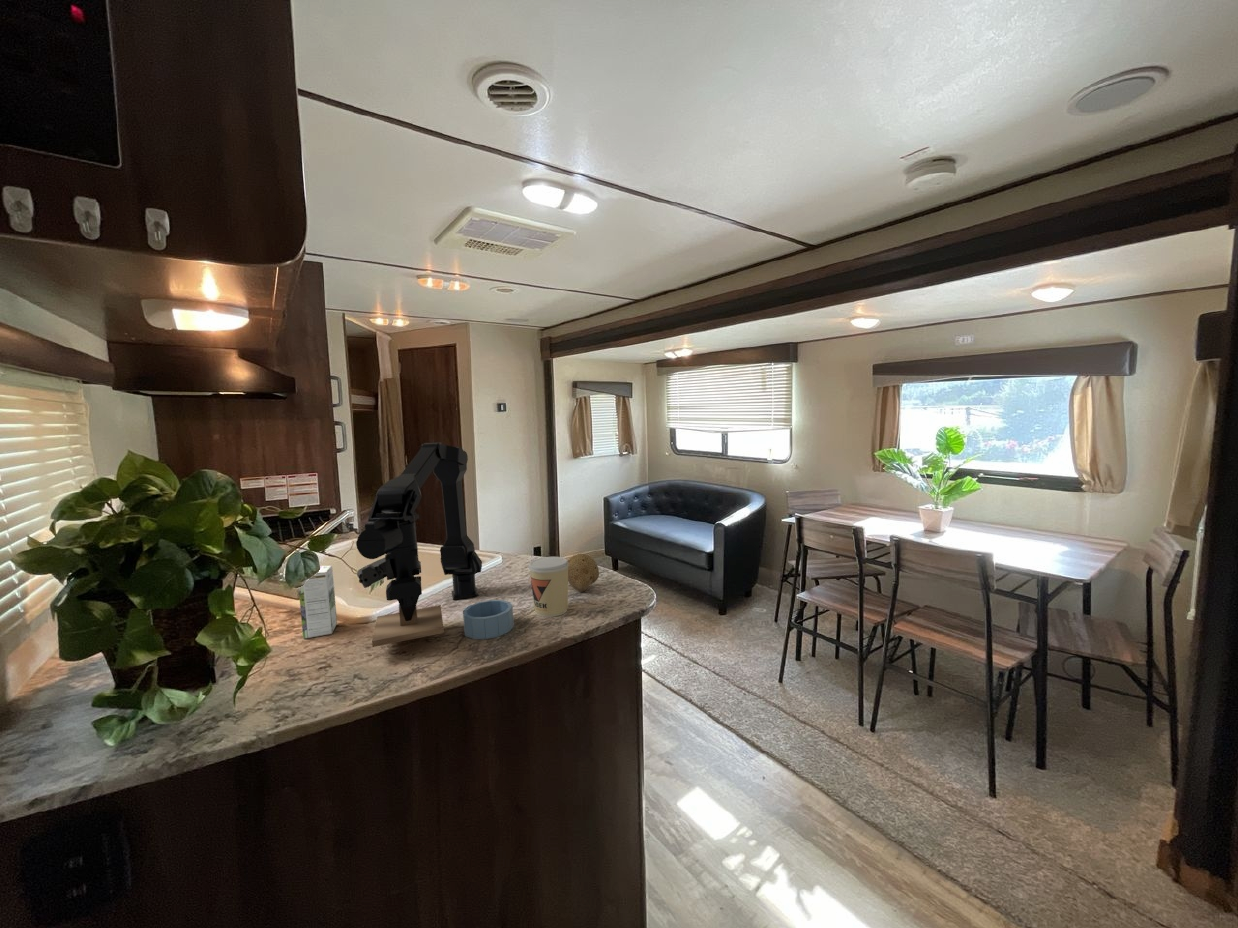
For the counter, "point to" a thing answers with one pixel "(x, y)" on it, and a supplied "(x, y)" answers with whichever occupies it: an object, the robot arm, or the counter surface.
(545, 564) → the coffee cup
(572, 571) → the natural sponge
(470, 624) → the bowl
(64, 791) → the counter surface
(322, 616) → the syrup box
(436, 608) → the cover board
